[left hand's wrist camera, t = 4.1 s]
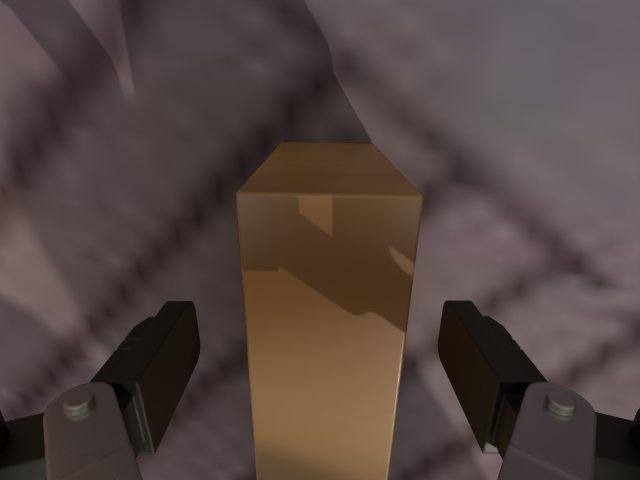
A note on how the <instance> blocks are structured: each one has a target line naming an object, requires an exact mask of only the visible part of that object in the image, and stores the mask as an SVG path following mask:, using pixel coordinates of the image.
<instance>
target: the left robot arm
mask: <svg viewBox="0 0 640 480" xmlns="http://www.w3.org/2000/svg"><path fill="white" fill-rule="evenodd" d="M438 352H439V357H440V361H441V363H442V365H443V367H444V369H445V372H446V374H447V376H448V378H449V380H450V383H451V385H452V387H453V389H454V391H455V394H456V396H457V398H458V400H459V402H460V405H461V407H462V409H463V411H464V413H465V415H466V418H467V420H468V422H469V424H470V426H471V429H472V431H473V433H474V435H475V437H476V440H477V442H478V444H479V446H480V448H481V450H482V453H499V454H500V456H501V458H502V460H503V463H502V466H501V469H500V472H499V476H498V479H497V480H640V408H639V409H638V411H637V413H636V416H635V418H634V420H633V421H631V420H627V419H623V418H619V417H614V416H610V415H606V414H602V413H597V412H595V411H594V409H593V407H592V406H591V405H590V404H589V403H588V402H587V401H586V400H585V399H584V398H583V397H581V396H580V395H579V394H577V393H575V392H574V391H572V390H570V389H568V388H566V387H563V386H560V385H558V384H554V383H548V381H547V380H546V379H545V378H544V376H543V375H542V374H541V373H540V371H539V370H538V369H537V368H536V366H535V365H534V364H533V363H532V361H531V360H530V359H529V358H528V356H527V355H526V354H525V353H524V351H523V350H520V346H519V345H518V344H517V343H516V341H515V340H513V339H512V336H511V335H510V334H509V333H508V331H507V330H506V329H505V328H504V326H502V325H501V324H499V323H498V322H496V321H495V320H493V319H492V318H491V317H489V316H482V315H481V313H480V312H479V311H478V309H477V308H476V307H475V305H474V304H473V303H472V302H471V301H445V303H444V305H443V311H442V318H441V325H440V332H439V339H438ZM199 354H200V338H199V331H198V324H197V318H196V311H195V306H194V303H193V302H192V301H168V302H166V303H165V304H164V306H163V307H162V308H161V310H160V311H159V312H158V314H157V315H156V316H155V317H148V318H147V319H145V320H144V321H142V322H141V323H139V324H138V325H136V326H135V327H134V328H133V329H132V331H131V332H130V333H129V334H128V335H127V337H126V338H125V341H123V342H122V343H121V344H120V345H119V347H118V349H117V350H115V352H114V353H113V354H112V355H111V357H110V358H109V359H108V360H107V362H106V363H105V364H104V365H103V366H102V368H101V369H100V370H99V371H98V373H97V374H96V375H95V376H94V378H93V379H92V380H91V381H90V383H86V384H82V385H80V386H77V387H74V388H72V389H70V390H68V391H66V392H65V393H63V394H61V395H60V396H59V397H57V398H56V399H55V400H54V401H53V402H52V403H51V404H50V405H49V406H48V407H47V409H46V411H45V412H44V413H41V414H37V415H32V416H28V417H24V418H20V419H15V420H11V421H7V422H5V420H4V418H3V415H2V413H1V411H0V480H143V479H142V476H141V472H140V469H139V466H138V463H137V460H136V457H137V455H155V453H156V451H157V448H158V446H159V444H160V442H161V440H162V438H163V435H164V433H165V431H166V429H167V427H168V425H169V422H170V420H171V418H172V416H173V414H174V412H175V409H176V407H177V405H178V403H179V401H180V399H181V396H182V394H183V392H184V390H185V388H186V386H187V383H188V381H189V379H190V377H191V375H192V373H193V371H194V368H195V366H196V364H197V362H198V359H199Z"/></svg>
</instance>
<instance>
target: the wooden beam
mask: <svg viewBox="0 0 640 480" xmlns="http://www.w3.org/2000/svg"><path fill="white" fill-rule="evenodd" d="M422 205H423V196H422V195H421V194H420V193H419V191H418V190H417V189H416V188H415V187H414V186H413V185H412V184H411V183H410V182H409V181H408V180H407V179H406V178H405V177H404V176H403V175H402V174H401V173H400V172H399V170H398V169H397V168H396V167H395V166H394V165H393V164H392V163H391V162H390V161H389V160H388V159H387V158H386V157H385V156H384V155H383V154H382V153H381V152H380V150H379V149H378V148H377V147H376V146H375V145H374V144H372V143H317V142H281V143H280V144H279V145H278V146H277V147H276V149H275V150H274V151H273V152H272V153H271V154H270V155H269V156H268V158H267V159H266V160H265V161H264V162H263V163H262V164H261V165H260V167H259V168H258V169H257V170H256V171H255V172H254V173H253V174H252V175H251V177H250V178H249V179H248V180H247V181H246V182H245V183H244V184H243V186H242V187H241V188H240V189H239V190H238V191H237V192H236V207H237V221H238V234H239V248H240V261H241V275H242V288H243V302H244V315H245V329H246V342H247V356H248V369H249V383H250V396H251V410H252V423H253V437H254V450H255V464H256V477H257V480H388V473H389V465H390V457H391V449H392V441H393V434H394V426H395V418H396V410H397V402H398V394H399V386H400V378H401V370H402V362H403V355H404V347H405V339H406V331H407V323H408V315H409V307H410V299H411V291H412V284H413V276H414V268H415V260H416V252H417V244H418V236H419V228H420V220H421V213H422Z"/></svg>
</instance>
